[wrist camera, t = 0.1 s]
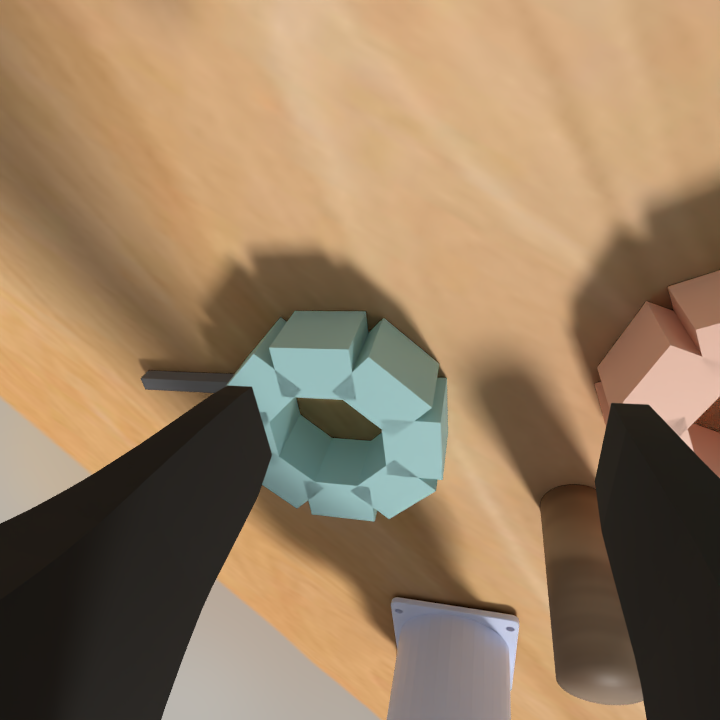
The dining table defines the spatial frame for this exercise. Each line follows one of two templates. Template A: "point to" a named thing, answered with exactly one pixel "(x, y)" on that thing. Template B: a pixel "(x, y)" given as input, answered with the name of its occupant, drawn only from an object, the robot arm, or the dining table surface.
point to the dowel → (585, 602)
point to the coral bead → (671, 363)
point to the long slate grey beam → (185, 381)
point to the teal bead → (366, 395)
